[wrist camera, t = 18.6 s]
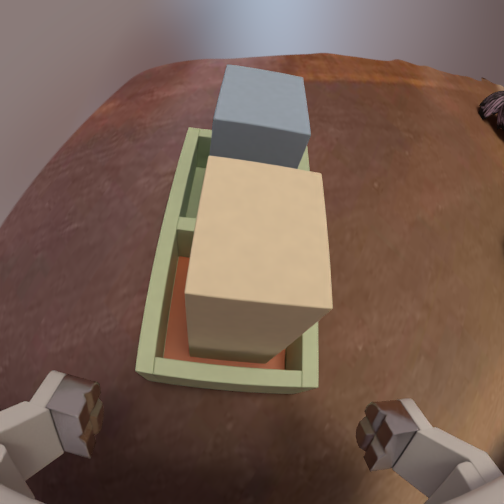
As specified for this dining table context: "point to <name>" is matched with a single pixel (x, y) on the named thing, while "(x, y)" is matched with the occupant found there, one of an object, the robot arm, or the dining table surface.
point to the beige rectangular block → (256, 261)
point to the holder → (174, 311)
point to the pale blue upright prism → (261, 117)
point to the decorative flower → (493, 108)
